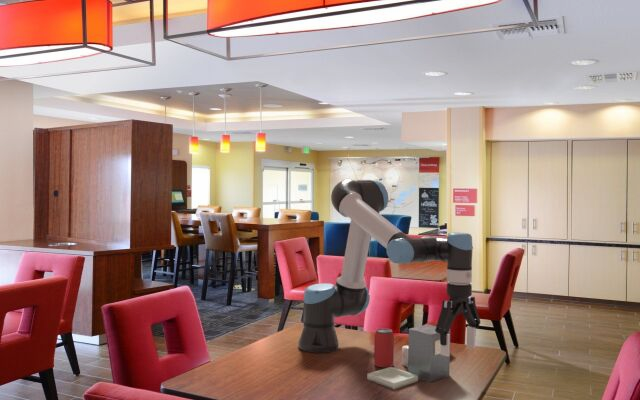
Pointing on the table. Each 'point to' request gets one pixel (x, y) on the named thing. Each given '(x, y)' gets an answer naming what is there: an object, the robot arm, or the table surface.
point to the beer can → (384, 348)
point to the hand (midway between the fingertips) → (458, 351)
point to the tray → (392, 377)
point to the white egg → (405, 356)
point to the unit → (427, 354)
